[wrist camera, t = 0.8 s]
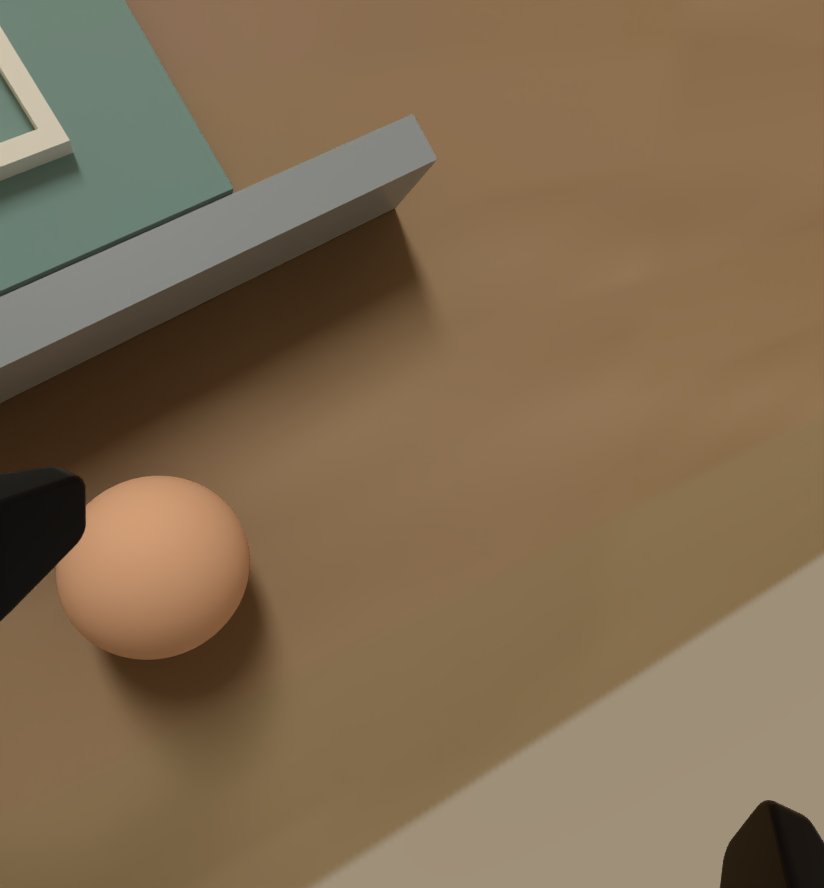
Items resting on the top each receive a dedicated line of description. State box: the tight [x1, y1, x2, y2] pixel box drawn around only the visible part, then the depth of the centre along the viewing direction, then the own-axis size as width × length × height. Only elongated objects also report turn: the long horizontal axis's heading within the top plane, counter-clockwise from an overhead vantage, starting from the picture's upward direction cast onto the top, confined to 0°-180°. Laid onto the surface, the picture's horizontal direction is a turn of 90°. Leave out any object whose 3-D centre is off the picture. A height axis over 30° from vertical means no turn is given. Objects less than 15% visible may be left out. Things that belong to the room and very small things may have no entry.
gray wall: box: [0, 114, 437, 403], centre depth 19 cm, size 24×2×4 cm, turn 121°
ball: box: [56, 476, 250, 660], centre depth 19 cm, size 5×5×5 cm
